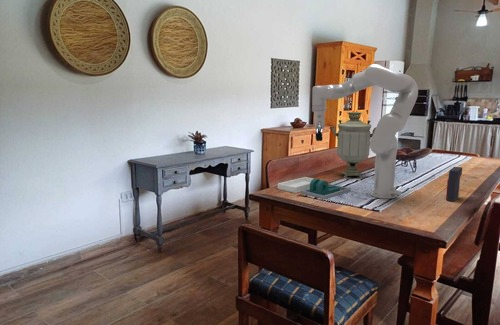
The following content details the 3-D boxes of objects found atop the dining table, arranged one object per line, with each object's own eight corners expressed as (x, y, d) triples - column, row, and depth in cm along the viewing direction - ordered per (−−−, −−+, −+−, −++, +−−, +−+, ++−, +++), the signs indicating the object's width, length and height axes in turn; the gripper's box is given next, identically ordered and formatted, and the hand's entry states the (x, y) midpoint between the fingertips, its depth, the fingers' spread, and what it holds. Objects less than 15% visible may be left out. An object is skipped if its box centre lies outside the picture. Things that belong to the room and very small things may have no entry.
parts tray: (322, 185, 205) (322, 180, 205) (294, 193, 190) (294, 187, 190) (305, 181, 215) (305, 176, 214) (277, 188, 199) (277, 183, 199)
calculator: (450, 195, 181) (452, 166, 178) (459, 197, 178) (462, 167, 175) (445, 200, 172) (447, 169, 170) (455, 202, 170) (458, 170, 167)
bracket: (319, 197, 183) (319, 181, 181) (309, 194, 188) (309, 179, 187) (342, 191, 193) (343, 176, 192) (333, 188, 198) (333, 174, 197)
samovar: (381, 173, 235) (384, 111, 228) (374, 181, 212) (377, 113, 205) (335, 169, 248) (337, 111, 241) (324, 177, 226) (326, 112, 218)
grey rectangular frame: (350, 191, 192) (350, 188, 192) (324, 199, 178) (324, 196, 177) (328, 186, 203) (328, 183, 203) (301, 193, 188) (301, 190, 188)
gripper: (327, 109, 189) (326, 141, 192) (325, 108, 206) (324, 138, 209) (312, 109, 190) (312, 141, 193) (311, 108, 207) (311, 138, 210)
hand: (318, 139), depth 201 cm, fingers open, 9 cm apart
